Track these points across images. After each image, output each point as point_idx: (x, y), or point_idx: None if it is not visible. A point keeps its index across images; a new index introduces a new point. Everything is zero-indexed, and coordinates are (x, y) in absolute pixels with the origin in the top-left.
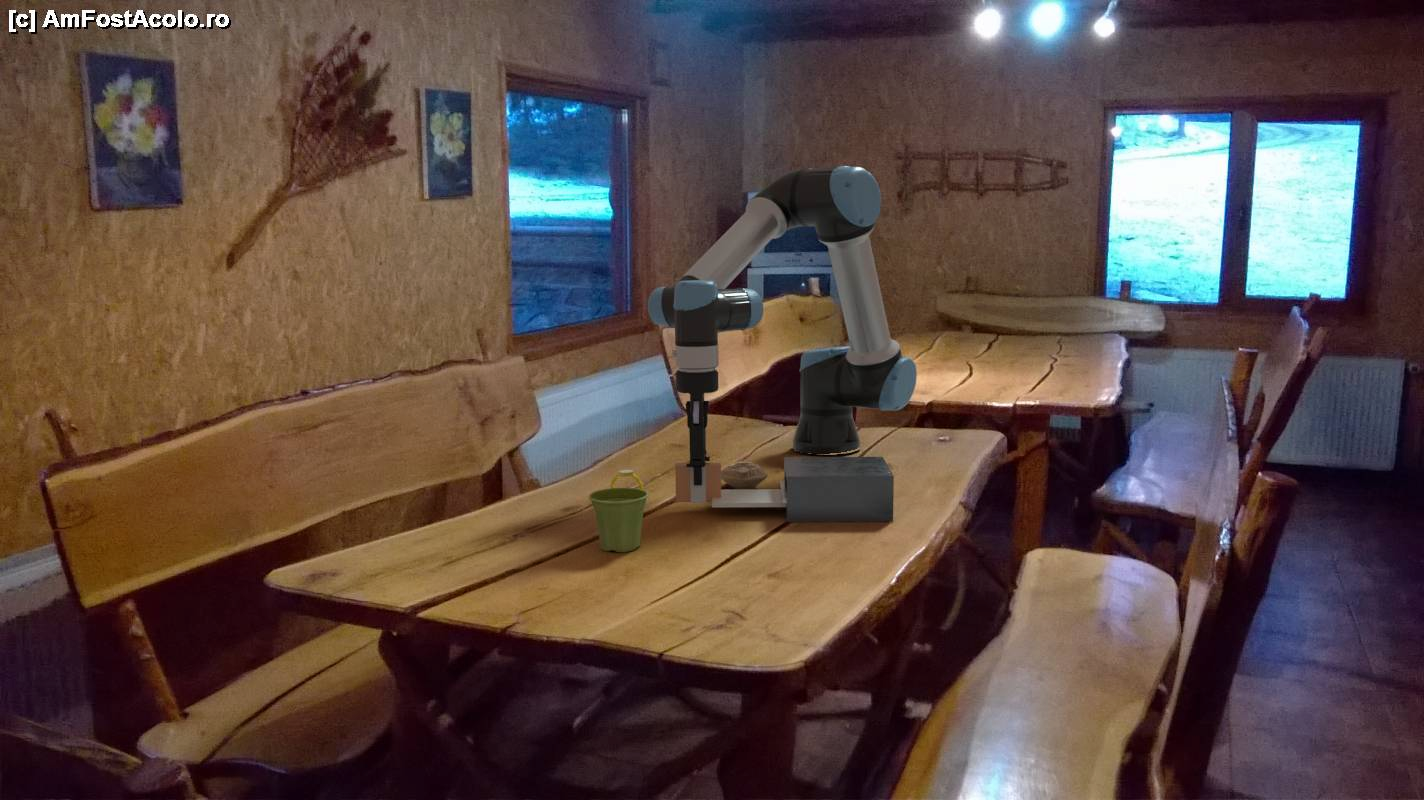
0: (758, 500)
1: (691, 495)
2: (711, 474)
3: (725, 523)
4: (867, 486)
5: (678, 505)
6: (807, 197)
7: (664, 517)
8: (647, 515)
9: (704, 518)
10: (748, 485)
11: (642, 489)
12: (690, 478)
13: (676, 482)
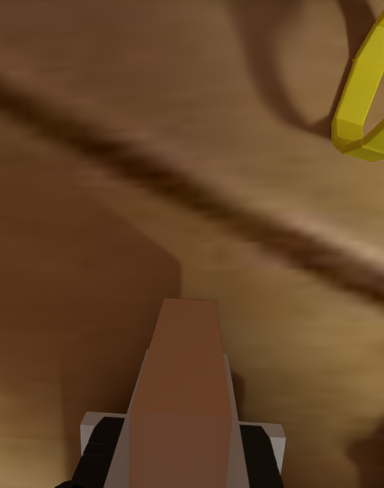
0: None
1: (140, 370)
2: None
3: (42, 415)
4: None
5: (271, 290)
6: None
7: (110, 245)
8: (138, 186)
9: (97, 364)
10: None
11: (360, 156)
12: (123, 427)
13: (150, 344)
